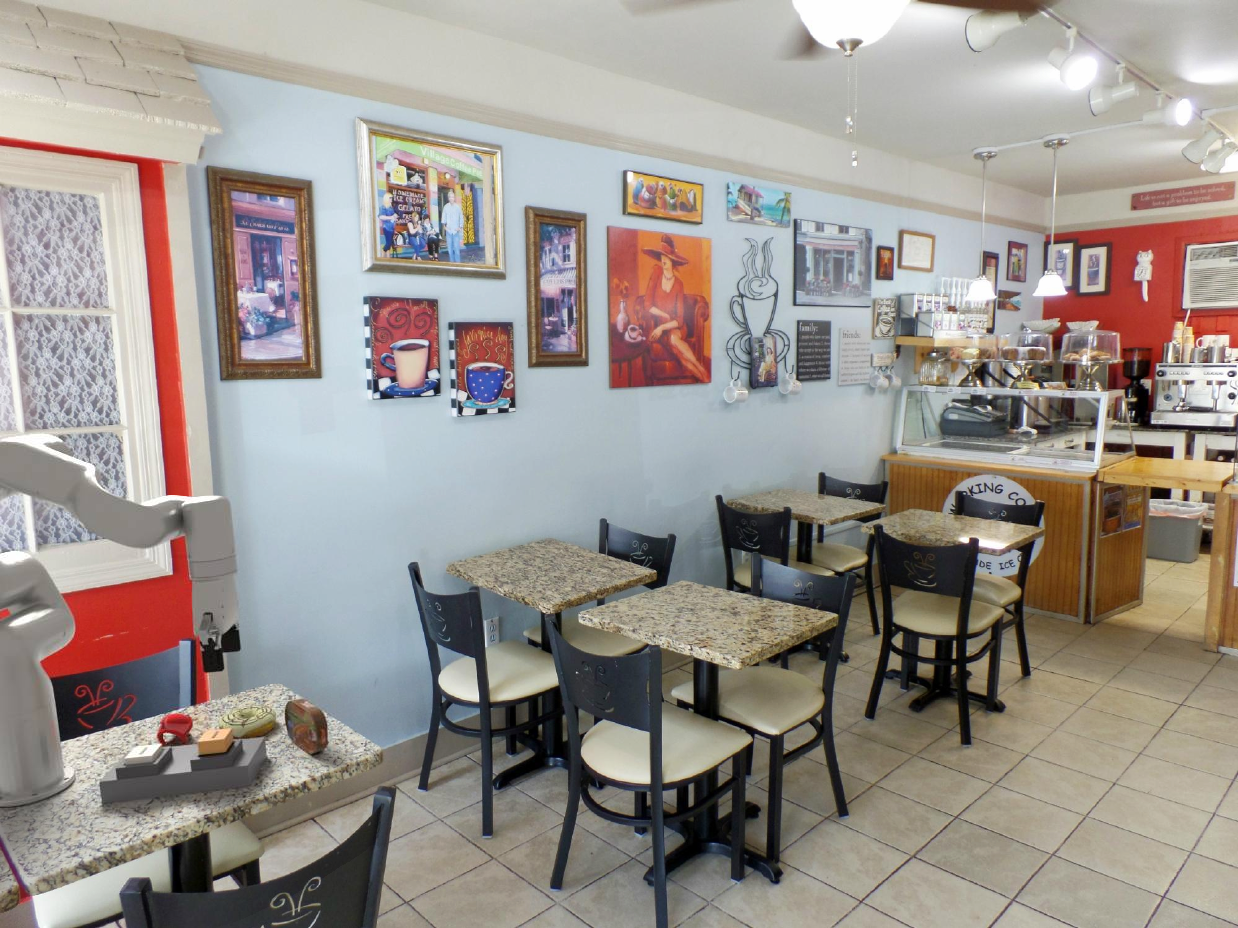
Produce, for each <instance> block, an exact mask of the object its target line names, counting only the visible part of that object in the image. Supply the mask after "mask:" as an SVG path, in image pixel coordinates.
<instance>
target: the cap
mask: <svg viewBox="0 0 1238 928" xmlns="http://www.w3.org/2000/svg"><path fill="white" fill-rule="evenodd" d="M193 721H194V720H193V718H192V716H188V715H186V714H184V713H179V712H177V713H176V712H175V713H171V714H170V713H169V714H167V715H166V716H164V717H163V718H162V719H161V721H160V723H159V724H160V726H159V728H158V730H157V734H156V737H157V738H156V739H157V740H158V742H159V744H162V747H166V745H167V741H166V740H165V739H164V734H171V735H173V736H177V737H178V738H180V739H181V741H182V742H183V743H184V745H187V744H188V743H189V740H188V738H187V736H188V735H189V733H190V732H191V730H192V728H193V727H194V723H193ZM186 743H187V744H186Z"/></svg>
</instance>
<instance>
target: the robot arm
mask: <svg viewBox="0 0 1238 928" xmlns="http://www.w3.org/2000/svg"><path fill="white" fill-rule="evenodd" d="M101 484H102V475H101V472H100V469H99V468H97V467H96V466H95V465H93V464H91V463H87V462H85V461H82V460H80V459H77V458H75V457H73V454H72V451H71V449H70V447H69V446H68V445H67V443H65V441H63V440H62V439H60V438H58V437H56V436H53V435H50V434H44V433H41V434H40V433H39V434H38V433H37V434H36V433H35V434H29V435H23V436H14V437H7V438H3V439H1V440H0V501H1V500H5V499H7V498H10V497H13V496H15V495H19V494H23V495H26V496H29V497H32V498H34V499H37V500H39V501H42V502H45V503H47V504H50V505H53V506H55V507H57V508H60V509H62V510H65V511H67V512H69V514H70V515H71V517H73V519H74V520H75V521H76V522H77V523H78V524H79V525H81V526H82V527H83V528H84V529H85V530H87V531H88V532H90V533H92V534H94V535H95V536H98V537H100V538H104V539H106V540H108V541H111V542H114V543H116V544H119V545H121V546H125V547H128V548H133V549H136V550H137V549H140V550H144V549H145V550H147V549H152V548H154V547H157V546H159V545H162V544H164V543H167V542H169V541H172V540H174V539H175V540H176V539H178V538H181V537H185V549H186V557H187V566H188V574H189V580H190V581H192V584H191V585H192V589H191V608H192V625H193V635H194V636H195V637H196V638H199V642H198V643H199V645H200V652H201V658H202V659H201V661H202V668H203V672H204V673H205V674H208V673H209V674H211V673H219V672H223V671H224V670H225V661H224V654H225V653H236V652H237V653H238V652H240V651H241V650H242V647H241V645H242V644H241V637H240V636H241V635H240V629H239V627H240V624H239V621H238V619H239V615H240V614H239V601H238V593H237V586H236V580H235V575H236V574H238V562H237V556H236V555H237V551H236V543H235V531H234V525H233V513H232V505H231V501H230V500H229V498H227V497H226V496H222V495H204V496H197V497H194V496H193V497H192V496H183V495H166V496H165V495H164V496H161V497H158V498H155V499H151V500H148V501H144V502H142V503H138V502H135V501H133V500H129V499H127V498H124V497H121V496H118V495H116V494H114V493H113V492H110V491H108V490H106V489H104V488H103V487H102V486H101ZM6 609H7V610H8V612H9V613H10V614H9V615H6V616H5V617H3V618H0V807H1V808H3V807H4V808H6V807H7V808H8V807H9V808H10V807H17V806H24V805H29V804H31V803H36V802H38V801H39V802H40V801H42V800H45V799H47V798H49V797H52V796H54V795H55V794H58V793H60V792H62V791H63V790H64V789H66V788H68V787H69V786H70V785H71V784H72V783H73V782H74V781H75V779H76V770H75V768H74V767H71V766H70V765H65V764H64V758H63V751H62V750H63V749H62V742H61V737H60V729H59V728H60V727H59V722H58V721H59V720H58V715H57V706H56V700H55V694H54V693H55V692H54V687H53V684H52V681H51V679H50V677H49V675H48V674H47V673H46V671H45V670H44V669H43V666H42V664H41V661H43V660H44V659H45V658H47V657H49V656H51V655H53V654H54V653H57V652H58V651H60V650H61V649H63V648H64V647H66V646H67V645H68V644H69V643H70V642H71V641H72V640H73V638H74V636H75V632H76V622H75V621H76V620H75V617H74V615H73V613H72V611H71V609H70V607H69V606H68V603H67V602H66V600H65V598H64V597H63V595H62V593H61V592H60V590H59V588H58V587H57V584H55V582H54V580H53V579H52V576H51V575H50V573H49V572H48V570H47V568H46V567H45V566H44V565H43V564H42V563H41V562H40V561H39V560H38V559H37V558H36V557H34V556H32V555H31V554H29V553H26V552H23V551H16V550H15V551H6V552H1V553H0V612H1V611H3V610H6ZM213 638H215V640H214V639H213Z"/></svg>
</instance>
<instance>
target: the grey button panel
mask: <svg viewBox="0 0 1238 928" xmlns="http://www.w3.org/2000/svg"><path fill="white" fill-rule="evenodd" d="M162 749H163V752H162V753H161V754H160V755H159V756H158V758H157V759H156V760H155V761H154V762H150V763H141V764H132V765H125V759H124V758H125V757H126V756H127V755H128V754H129V753H130V752H131V751H132V750H130V751H126V753H124V755H123V756H122V757H121V758H119V760H118V761H117V762H116V763H115V765H113V766H112V768H111V769H110V770H108V772H107V773H106V774H105V775H104V776H103V777H102V778H101V779H100V781H98V782H99V792H100V799H101V804H102V805H103V804H104V805H105V804H111V803H120V802H129V801H130V802H131V801H137V800H147V799H155V798H162V797H163V798H164V797H173V796H182V795H190V794H198V793H207V792H217V791H224V790H225V791H226V790H232V789H234V788H235V789H242V788H243V789H244V788H250V787H251V786H252V784H253V782H254V780H255V779H256V777H257V775H258V773H259V771H260V770H261V768H262V766H263V765H264V763H265V761H266V759H267V758H268V754H267V744H266V737H265V736H262V737H253V738H249V739H233V742H232V743H231V745H230V746H229V748H228V749H227V751H226V752H221V753H212V754H202V755H199V751H198V743H195V744H194V743H193V744H184V745H178V746H177V745H176V746H170V745H169V746H168V745H167V746H162ZM235 789H234V790H235Z"/></svg>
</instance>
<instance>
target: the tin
mask: <svg viewBox="0 0 1238 928" xmlns="http://www.w3.org/2000/svg"><path fill="white" fill-rule="evenodd" d="M284 723H285V728H286V731H287V734H288V735H287V736H288V737H289V739H290V741H291V742H292V743H293V744H295V745H296V746H297V747H299V748H300V749H302V750H303V751H304V752H305V753H307V754H309V755H314V754H315V753H316V754H317V753H319V752H322V751H324V750H326V748H327V747H328V744H329V737H328V735H329V734H328V733H329V732H328V731H329V730H328V726H329V725H328V721H327V718H326V716H325V713H324V712H323V711H322V709H321V708H319V707H318V706H316V705H315V704H313V703H312V702H310V701H308V700H307V699H305V698H298V699H294V700H288V701H287V703H286V705H285V707H284Z"/></svg>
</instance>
